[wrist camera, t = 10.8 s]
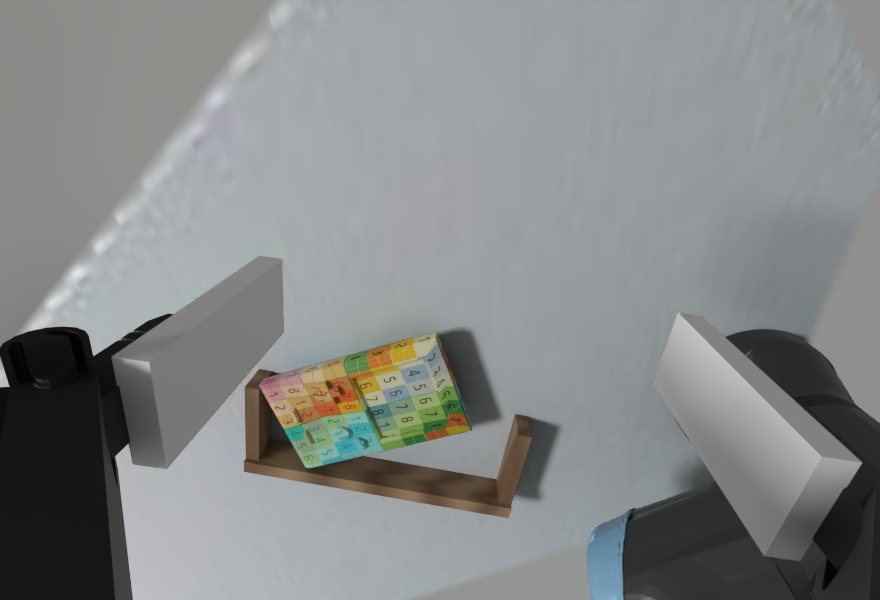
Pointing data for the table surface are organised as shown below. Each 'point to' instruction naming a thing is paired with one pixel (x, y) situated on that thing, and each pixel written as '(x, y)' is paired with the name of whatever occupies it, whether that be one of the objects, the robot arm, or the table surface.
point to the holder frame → (384, 466)
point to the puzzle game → (368, 401)
